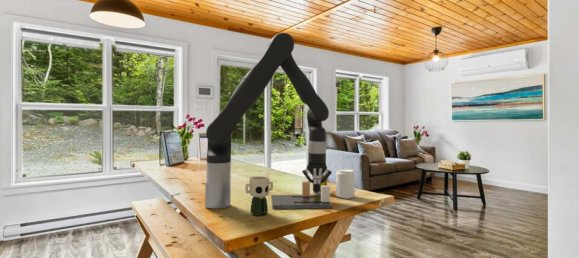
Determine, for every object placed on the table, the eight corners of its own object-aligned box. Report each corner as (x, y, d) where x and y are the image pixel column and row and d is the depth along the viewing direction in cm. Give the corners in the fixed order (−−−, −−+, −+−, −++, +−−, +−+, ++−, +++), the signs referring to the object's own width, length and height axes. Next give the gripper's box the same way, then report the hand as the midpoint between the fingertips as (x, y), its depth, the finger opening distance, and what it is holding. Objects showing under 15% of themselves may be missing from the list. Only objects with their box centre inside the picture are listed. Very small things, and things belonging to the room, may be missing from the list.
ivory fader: (322, 202, 119) (322, 186, 119) (320, 200, 121) (321, 185, 121) (329, 202, 119) (329, 186, 119) (328, 200, 122) (328, 185, 121)
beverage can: (357, 196, 137) (357, 170, 136) (350, 200, 130) (350, 172, 129) (340, 193, 141) (340, 168, 141) (333, 197, 134) (333, 170, 134)
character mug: (249, 218, 103) (249, 180, 103) (241, 213, 109) (241, 177, 109) (277, 214, 109) (277, 178, 109) (267, 209, 115) (268, 175, 115)
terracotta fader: (302, 196, 127) (302, 182, 127) (301, 195, 130) (302, 181, 130) (309, 196, 128) (309, 182, 127) (308, 195, 130) (309, 181, 130)
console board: (272, 209, 115) (272, 204, 115) (271, 198, 131) (271, 194, 131) (332, 208, 117) (332, 204, 117) (323, 197, 133) (323, 194, 133)
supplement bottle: (326, 195, 138) (326, 167, 138) (311, 194, 140) (312, 166, 139) (327, 191, 145) (327, 165, 145) (313, 190, 146) (314, 164, 146)
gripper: (302, 152, 124) (302, 194, 125) (334, 152, 125) (333, 194, 126) (300, 150, 132) (299, 190, 132) (330, 151, 133) (329, 190, 133)
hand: (316, 192), depth 129 cm, fingers closed
